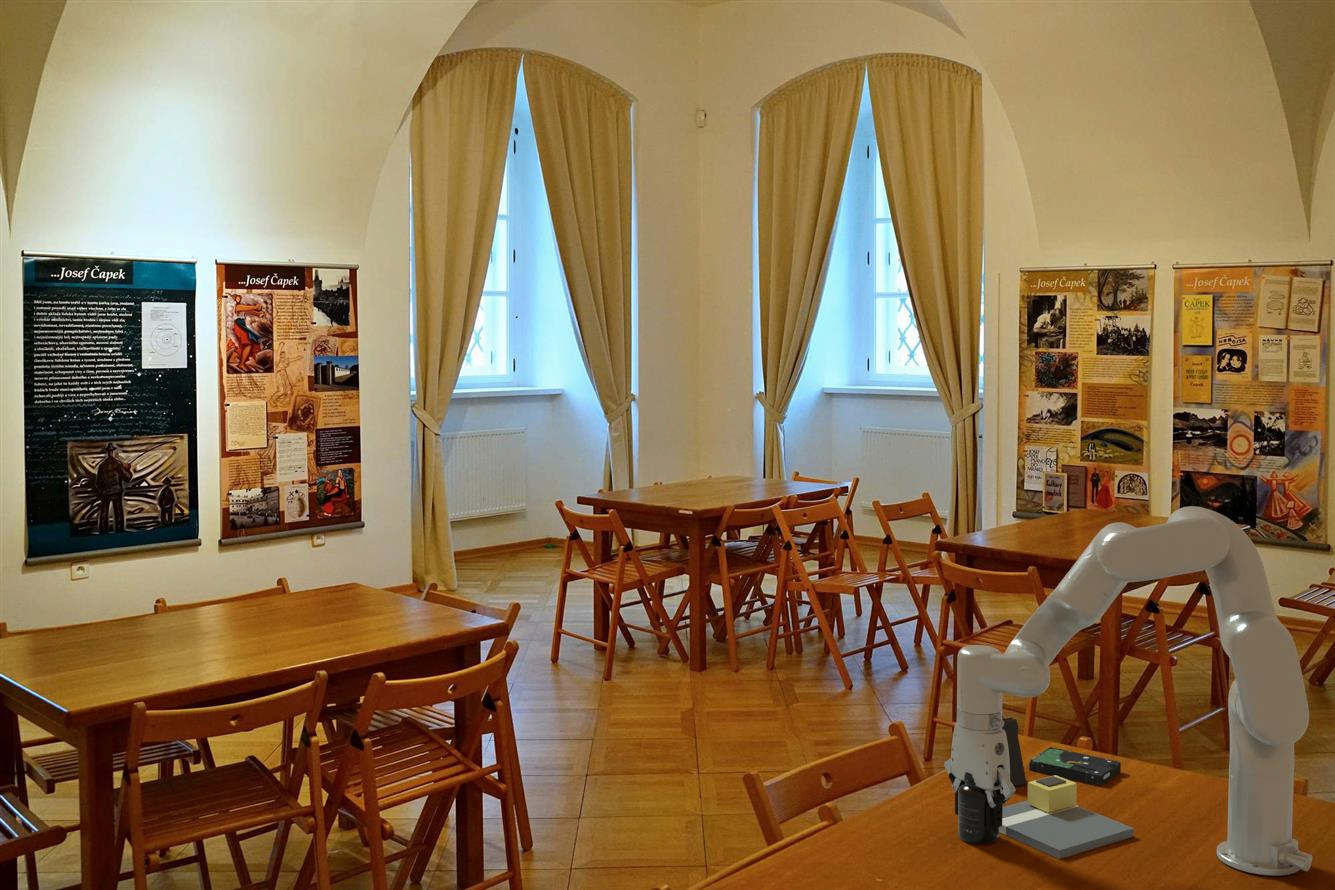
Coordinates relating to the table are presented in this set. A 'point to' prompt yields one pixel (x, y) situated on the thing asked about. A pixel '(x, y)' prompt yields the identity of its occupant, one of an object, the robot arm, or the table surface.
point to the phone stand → (1014, 753)
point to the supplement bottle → (974, 814)
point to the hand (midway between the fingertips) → (978, 819)
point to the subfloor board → (1061, 829)
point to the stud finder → (1052, 793)
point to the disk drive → (1075, 766)
